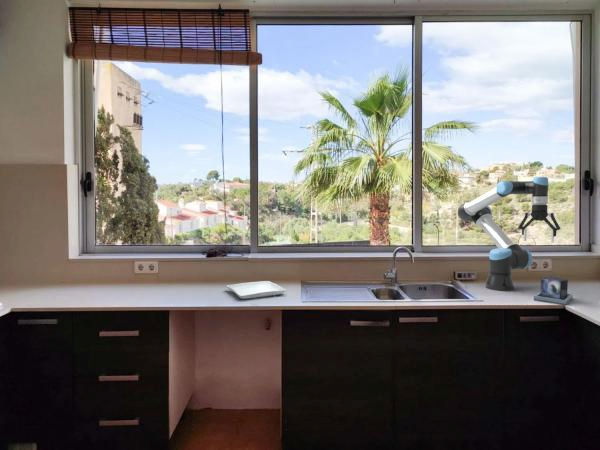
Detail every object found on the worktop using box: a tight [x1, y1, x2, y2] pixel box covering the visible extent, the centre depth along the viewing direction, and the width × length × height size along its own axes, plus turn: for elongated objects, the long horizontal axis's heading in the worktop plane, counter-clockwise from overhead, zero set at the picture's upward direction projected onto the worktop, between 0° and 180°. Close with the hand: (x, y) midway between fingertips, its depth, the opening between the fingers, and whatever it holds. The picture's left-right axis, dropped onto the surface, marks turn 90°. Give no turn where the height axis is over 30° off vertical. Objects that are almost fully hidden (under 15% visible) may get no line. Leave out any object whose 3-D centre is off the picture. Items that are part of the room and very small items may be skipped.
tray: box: [533, 290, 574, 306], centre depth 200 cm, size 14×18×2 cm
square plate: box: [226, 280, 287, 300], centre depth 217 cm, size 27×27×4 cm
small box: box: [540, 275, 569, 300], centre depth 200 cm, size 11×6×10 cm, turn 24°
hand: (538, 241), depth 216 cm, fingers open, 13 cm apart
